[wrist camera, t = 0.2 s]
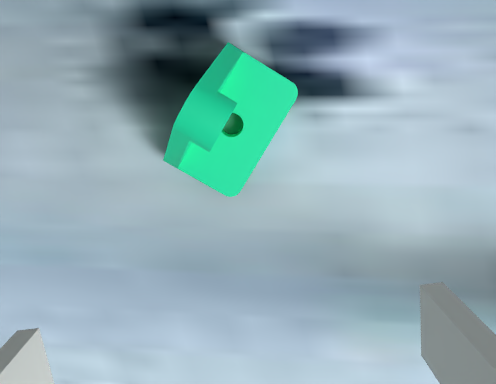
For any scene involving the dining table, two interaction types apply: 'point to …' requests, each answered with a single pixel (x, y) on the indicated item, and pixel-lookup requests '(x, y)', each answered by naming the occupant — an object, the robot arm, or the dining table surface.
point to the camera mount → (217, 114)
